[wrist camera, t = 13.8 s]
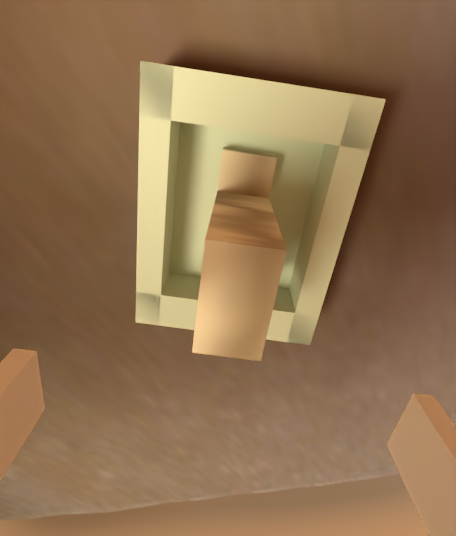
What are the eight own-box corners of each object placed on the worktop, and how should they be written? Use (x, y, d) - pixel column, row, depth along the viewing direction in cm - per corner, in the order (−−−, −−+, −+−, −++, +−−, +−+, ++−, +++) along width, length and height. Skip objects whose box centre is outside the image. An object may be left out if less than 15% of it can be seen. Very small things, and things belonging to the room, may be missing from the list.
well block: (149, 292, 32) (135, 322, 28) (158, 69, 24) (140, 60, 20) (300, 312, 33) (310, 345, 28) (359, 100, 25) (385, 99, 20)
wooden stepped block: (209, 264, 30) (192, 352, 19) (223, 147, 25) (212, 176, 15) (252, 269, 30) (260, 361, 19) (274, 155, 26) (300, 189, 15)
